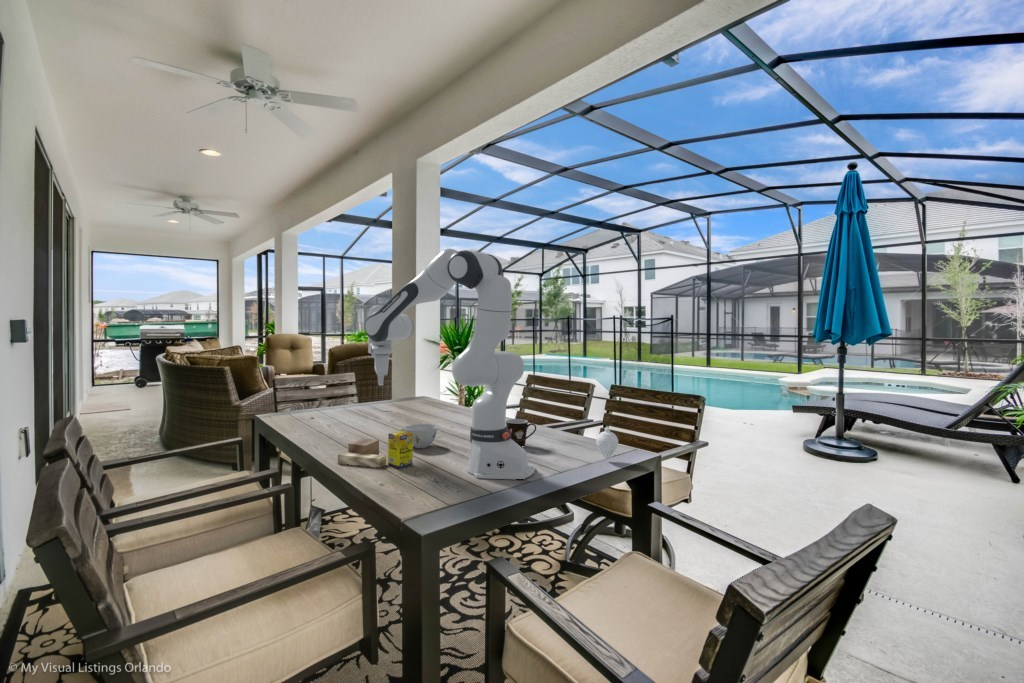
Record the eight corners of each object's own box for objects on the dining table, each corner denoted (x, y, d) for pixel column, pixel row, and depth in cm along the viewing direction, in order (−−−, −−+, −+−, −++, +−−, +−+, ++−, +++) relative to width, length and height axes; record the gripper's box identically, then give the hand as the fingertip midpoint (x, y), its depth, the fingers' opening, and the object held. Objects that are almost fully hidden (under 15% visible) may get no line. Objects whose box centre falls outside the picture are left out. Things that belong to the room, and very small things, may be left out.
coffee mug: (503, 448, 180) (504, 422, 179) (507, 443, 188) (508, 418, 188) (533, 450, 178) (534, 424, 178) (536, 444, 186) (536, 419, 186)
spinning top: (607, 466, 159) (608, 431, 159) (591, 460, 165) (591, 427, 165) (622, 462, 164) (623, 428, 163) (606, 457, 170) (606, 424, 169)
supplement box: (399, 468, 154) (399, 436, 154) (387, 465, 158) (387, 433, 157) (413, 464, 159) (413, 432, 158) (401, 461, 162) (401, 430, 162)
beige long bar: (385, 464, 159) (385, 455, 158) (379, 467, 155) (379, 458, 155) (344, 460, 163) (344, 451, 163) (337, 463, 159) (337, 454, 159)
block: (378, 456, 168) (378, 440, 168) (365, 462, 161) (365, 445, 160) (362, 454, 170) (362, 438, 170) (348, 460, 163) (348, 443, 163)
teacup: (442, 443, 187) (442, 423, 186) (431, 452, 174) (431, 430, 174) (406, 441, 189) (406, 421, 189) (393, 449, 177) (393, 428, 177)
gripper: (370, 347, 183) (370, 382, 184) (372, 349, 164) (373, 389, 164) (387, 347, 185) (387, 381, 186) (391, 349, 166) (391, 388, 166)
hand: (380, 385), depth 175 cm, fingers closed
